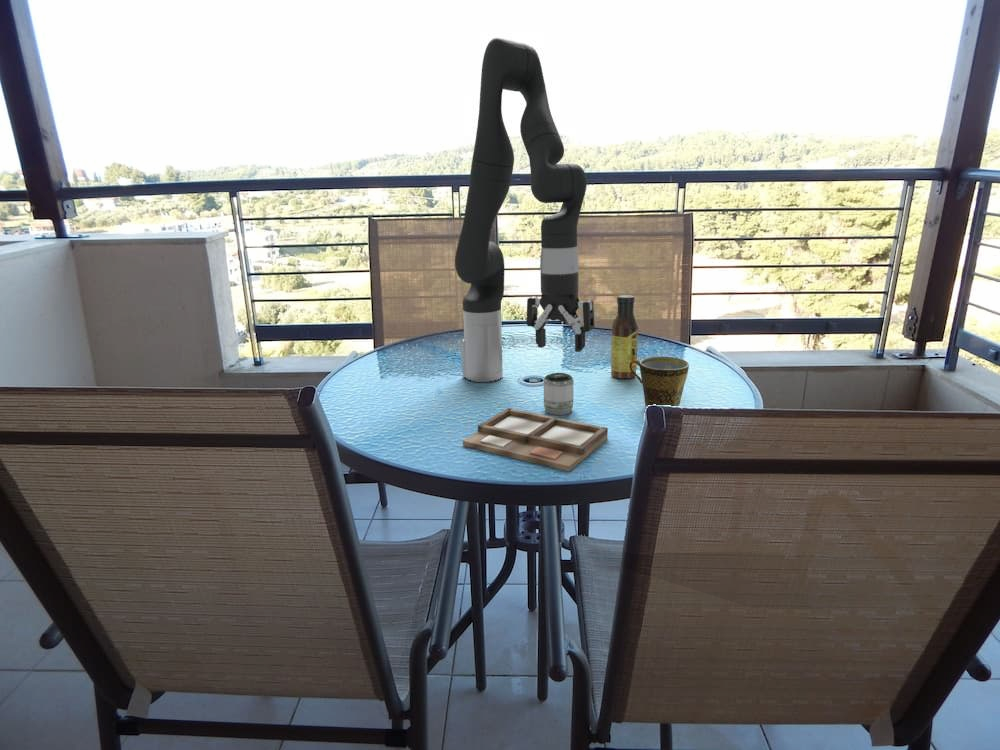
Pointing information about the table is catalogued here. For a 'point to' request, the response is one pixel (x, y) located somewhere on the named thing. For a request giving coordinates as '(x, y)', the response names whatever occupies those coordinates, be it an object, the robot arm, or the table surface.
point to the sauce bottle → (624, 339)
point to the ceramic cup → (662, 379)
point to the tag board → (537, 438)
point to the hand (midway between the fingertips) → (560, 348)
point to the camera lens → (558, 393)
